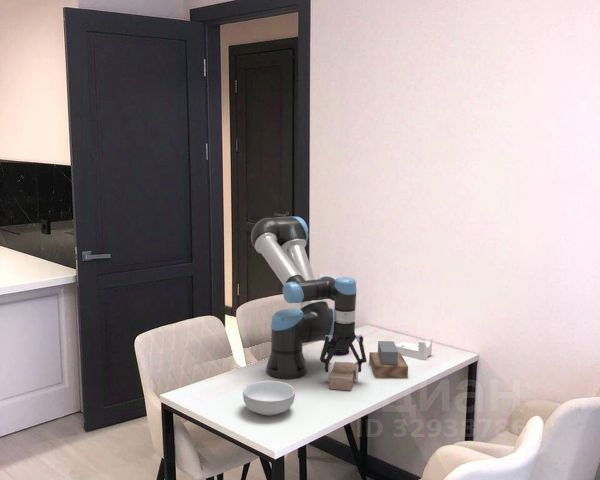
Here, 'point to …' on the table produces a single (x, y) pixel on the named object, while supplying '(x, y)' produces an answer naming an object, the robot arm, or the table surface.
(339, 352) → the dark blue barrel
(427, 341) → the bracket
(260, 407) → the cereal bowl
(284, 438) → the table surface
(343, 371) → the brick
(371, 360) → the tower base
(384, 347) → the tower top
